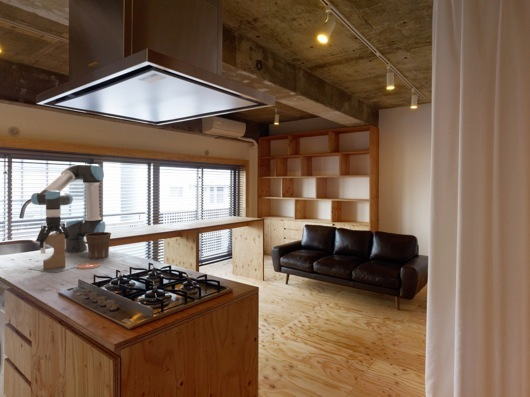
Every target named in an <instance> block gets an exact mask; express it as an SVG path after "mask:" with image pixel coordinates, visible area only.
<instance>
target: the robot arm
mask: <svg viewBox="0 0 530 397" xmlns="http://www.w3.org/2000/svg"><path fill="white" fill-rule="evenodd" d="M104 177H105V173H104V169H103V168H102V166H101V165H100V164H93V163H92V164H91V163H77V164H73V165H71V166H69V167H67V168H65V169H64V170H63V171H61V173H60V175H58V177H57V178H56V179H55V180H53V181H52V182H51V183H49V185H48V186H46V187H45V188H44V189H42V191H41V192H34V193H33V194H32V195H31V196H30V201H31V203H32V205H35V206H45V216H46V217H45V223H46V224H44V225H43V224H42V225H41V226H40V230H39V233H38V235H37V237H36V240H35V242H37V243H39V248H40V254H44V255H45V254H46V244H45V242H44V241H45V240H46V238H47V237H48V235H50V234H51V233H54V232H57V234H64V235H65V253H79V252H84V251H86V250H87V251H88V245H87V242H86V241H85V238H86V236H85V235H86V234H88V233H95V232H106V223H105V221H104V220H103V218H102V217H101V216H100V214H101V213H100V195H99V194H100V192H99V191H100V190H99V188H100V187H99V185H100V184H101V181H102V180H104ZM75 181H82V184H84V185H85V186H84V187H85V207H86V208H85V209H86V210H85V211H86V212H85V213H86V217H85V218H84V219H83V218H79V219H78V218H77V219H71V220H67V221H66V222H65V223H64V222H61V220H62V219H61V215H62V214H61V213H62V211H61V207H62V206H68V205H70V204H72V203H73V201H74V200H73V199H74V198H73V195H72V194H71V193H67V192H62V191H63V190H64V189H65V188H66V187H68V185H69V184H70V183H74V182H75ZM61 192H62V193H61Z"/></svg>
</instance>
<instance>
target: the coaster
mask: <svg viewBox="0 0 530 397" xmlns="http://www.w3.org/2000/svg"><path fill="white" fill-rule="evenodd" d="M98 266H99V267H100V266H101V263H100V262H85V263H80V264H77V266H76V267H75V268H76V269H78V270H91V269H95V268H98Z"/></svg>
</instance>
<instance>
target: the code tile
mask: <svg viewBox="0 0 530 397" xmlns="http://www.w3.org/2000/svg"><path fill="white" fill-rule="evenodd" d="M77 265H78V264H77ZM77 265H76V264H75V265H74V264H69V263H68V264H67V263H65V267H60V268H52V269H44V268H43V264H41V265H38V266H35V267H30V268H29V270H31V271H32V270H33V271H39V272H45V273H46V272H47V273H53V274H58V273H61V272H65V271H68V270H72V269H76V268H77V267H76V266H77Z"/></svg>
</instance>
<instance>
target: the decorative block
mask: <svg viewBox="0 0 530 397" xmlns="http://www.w3.org/2000/svg"><path fill="white" fill-rule="evenodd" d="M44 242H45V246H47V245H48V246H50V247H51V248H53V252H52V254H51V256H49V257H48V258H45V259H43V260H42V262H43V263H42V265H43V268H44V269H52V268H60V267H65V264H66V252H65V235H64V234H59V233H54V234H53V233H52V234H51V233H50V234H49V235H48V237H47V238H46V240H45V241H44Z"/></svg>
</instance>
